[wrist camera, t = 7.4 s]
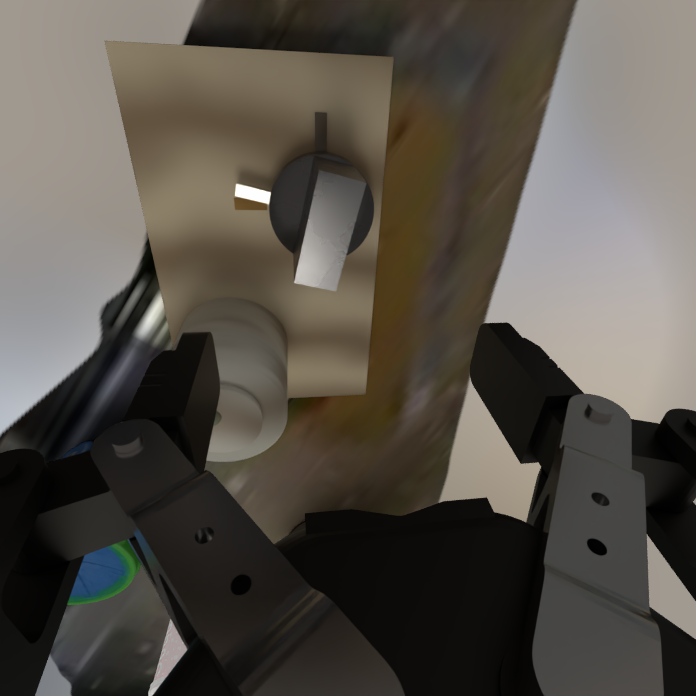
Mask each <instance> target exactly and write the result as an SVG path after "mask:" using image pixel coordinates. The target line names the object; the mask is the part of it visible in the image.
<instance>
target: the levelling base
mask: <svg viewBox="0 0 696 696" xmlns="http://www.w3.org/2000/svg"><path fill="white" fill-rule="evenodd" d="M105 45H106V49H107V54H108V58H109V62H110V67H111V71H112V76H113V80H114V85H115V89H116V94H117V98H118V103H119V107H120V112H121V116H122V120H123V125H124V130H125V134H126V138H127V142H128V147H129V151H130V156H131V161H132V165H133V169H134V174H135V179H136V183H137V187H138V192H139V196H140V201H141V205H142V210H143V214H144V218H145V223H146V228H147V232H148V236H149V241H150V245H151V250H152V254H153V259H154V263H155V268H156V272H157V277H158V281H159V285H160V290H161V294H162V299H163V303H164V308H165V312H166V317H167V321H168V326H169V330H170V334H171V339H172V343H173V348H172V350H176V348H177V345H178V343H179V340H180V338H181V335H182V333H184V332H211V333H212V336H213V340H214V346H215V353H216V359H217V365H218V371H219V377H220V396H219V401H218V406H217V411H216V416H215V421H214V425H213V430H212V435H211V440H210V445H209V449H208V454H207V459H206V460H207V461H215V462H230V461H238V460H243V459H247V458H250V457H253V456H255V455H258V454H260V453H262V452H263V451H265V450H267V449H268V448H270V447H271V446H272V445H273V444H274V443H275V442H276V441H277V440H278V439H279V438H280V436H281V435H282V433H283V431H284V429H285V426H286V423H287V413H288V398H298V397H320V396H342V395H363V394H366V384H367V372H368V360H369V348H370V336H371V324H372V312H373V300H374V288H375V276H376V264H377V252H378V240H379V228H380V216H381V204H382V192H383V180H384V168H385V156H386V143H387V131H388V119H389V107H390V95H391V83H392V71H393V59H394V57H384V56H366V55H348V54H330V53H313V52H295V51H277V50H260V49H242V48H224V47H206V46H189V45H170V44H153V43H135V42H117V41H105ZM315 151H325V152H331V153H334V154H337V155H340V156H342V157H344V158H346V159H347V160H348V161H350V162H351V163H352V164H353V165H354V166H355V167H357V169H358V170H359V171H360V172H361V174H362V175H363V176H364V178H365V179H366V181H367V183H368V185H369V187H370V189H371V192H372V196H373V201H374V218H373V222H372V226H371V228H370V231H369V233H368V235H367V237H366V238H365V240H364V241H363V243H362V244H361V245H360V246H359V247H358V248H357V249H356V250H355V251H353V252H352V253H351V254H349V255H347V256H346V258H345V261H344V265H343V268H342V272H341V275H340V279H339V282H338V286H337V290H336V291H331V290H326V289H321V288H316V287H311V286H306V285H301V284H296V283H294V266H293V253H291V252H290V251H289V250H288V249H286V248H285V247H284V246H283V244H282V243H281V242H280V241H279V239H278V238H277V236H276V234H275V232H274V230H273V228H272V225H271V221H270V215H269V204H266V203H262V202H258V201H254V200H250V199H246V198H242V197H238V196H235V191H236V184H237V181H238V182H242V183H246V184H249V185H253V186H257V187H261V188H265V189H269V190H272V186H273V184H274V181H275V179H276V177H277V175H278V174H279V172H280V171H281V170H282V168H283V167H284V166H285V165H286V164H287V163H289V162H290V161H291V160H293V159H294V158H296V157H298V156H300V155H302V154H305V153H309V152H315ZM269 202H270V201H269Z"/></svg>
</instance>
